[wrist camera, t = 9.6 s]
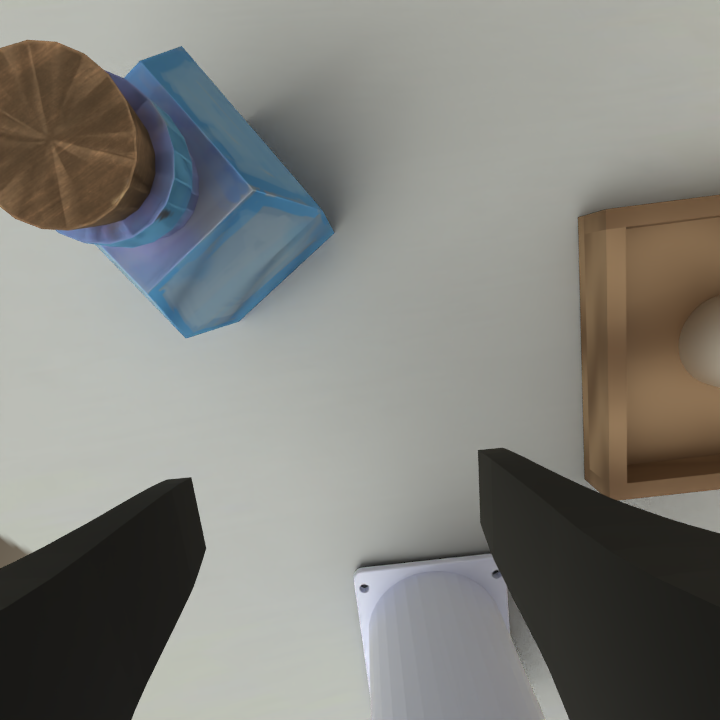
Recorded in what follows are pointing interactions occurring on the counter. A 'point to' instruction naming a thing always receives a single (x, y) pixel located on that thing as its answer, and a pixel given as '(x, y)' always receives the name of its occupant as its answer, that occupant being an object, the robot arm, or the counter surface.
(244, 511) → the counter surface
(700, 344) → the cylinder
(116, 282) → the counter surface
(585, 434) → the walnut tray
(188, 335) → the perfume bottle
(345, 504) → the counter surface
